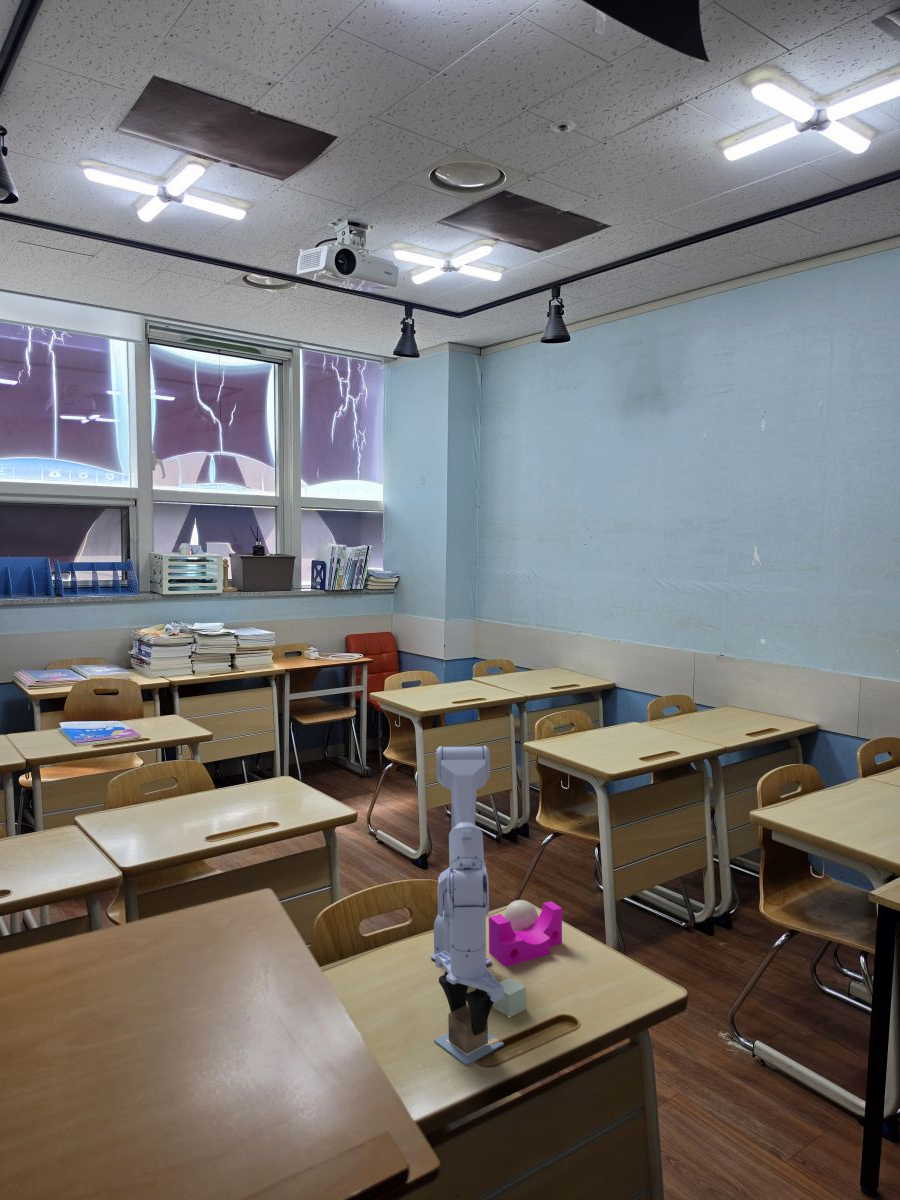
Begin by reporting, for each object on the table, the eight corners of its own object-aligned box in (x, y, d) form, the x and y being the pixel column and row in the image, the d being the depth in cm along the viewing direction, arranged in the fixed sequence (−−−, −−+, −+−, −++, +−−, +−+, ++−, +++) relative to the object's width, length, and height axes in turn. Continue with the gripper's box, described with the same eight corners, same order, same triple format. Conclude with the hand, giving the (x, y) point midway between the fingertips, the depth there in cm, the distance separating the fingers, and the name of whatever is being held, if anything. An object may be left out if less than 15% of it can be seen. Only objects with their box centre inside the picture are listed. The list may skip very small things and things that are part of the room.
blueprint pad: (434, 1041, 128) (434, 1039, 128) (471, 1022, 133) (471, 1021, 133) (466, 1065, 122) (466, 1063, 122) (503, 1045, 127) (503, 1043, 127)
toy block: (505, 967, 151) (505, 929, 151) (488, 953, 157) (488, 916, 157) (569, 949, 158) (569, 912, 158) (551, 936, 164) (551, 901, 164)
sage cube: (493, 1007, 138) (493, 985, 138) (509, 999, 140) (509, 977, 140) (509, 1018, 135) (509, 995, 135) (525, 1009, 137) (525, 986, 137)
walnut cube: (448, 1040, 128) (448, 1013, 128) (469, 1029, 131) (469, 1003, 130) (466, 1053, 124) (466, 1026, 124) (487, 1042, 127) (487, 1015, 127)
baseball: (523, 945, 160) (522, 912, 160) (498, 932, 165) (498, 901, 165) (546, 934, 164) (546, 903, 164) (521, 922, 170) (521, 892, 169)
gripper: (420, 934, 130) (421, 1014, 130) (479, 969, 119) (480, 1056, 119) (453, 921, 134) (454, 999, 135) (513, 954, 123) (513, 1038, 124)
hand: (468, 1025), depth 127 cm, fingers closed on walnut cube, 4 cm apart
